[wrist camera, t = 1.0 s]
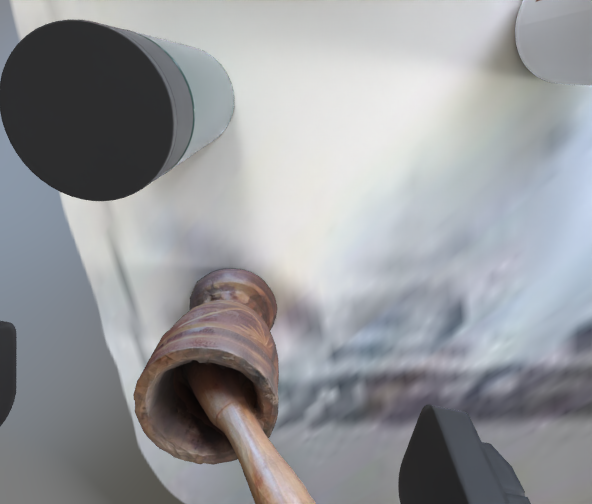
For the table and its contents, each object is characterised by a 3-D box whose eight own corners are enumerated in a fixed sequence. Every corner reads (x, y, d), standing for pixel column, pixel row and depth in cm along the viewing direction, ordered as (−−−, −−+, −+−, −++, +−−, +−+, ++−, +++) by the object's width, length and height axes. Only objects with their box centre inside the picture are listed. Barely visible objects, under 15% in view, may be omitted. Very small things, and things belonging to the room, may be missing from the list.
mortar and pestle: (327, 270, 39) (347, 451, 20) (315, 360, 42) (323, 590, 23) (186, 256, 39) (74, 426, 20) (184, 347, 42) (85, 569, 23)
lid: (35, 21, 21) (-14, 11, 18) (193, 35, 21) (173, 27, 18) (51, 177, 23) (10, 194, 20) (192, 190, 23) (174, 208, 20)
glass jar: (136, 41, 33) (-5, 12, 18) (236, 50, 33) (178, 28, 18) (139, 142, 36) (17, 191, 21) (232, 151, 36) (178, 205, 21)
